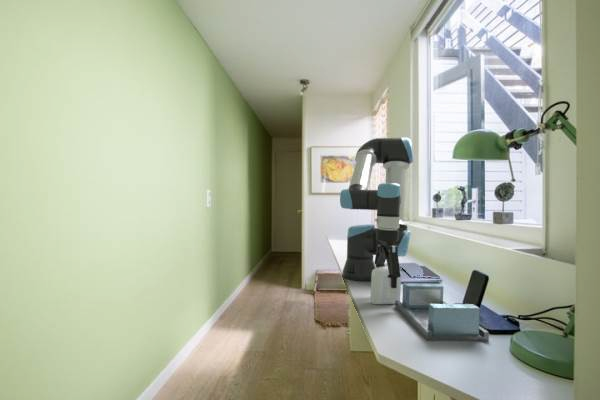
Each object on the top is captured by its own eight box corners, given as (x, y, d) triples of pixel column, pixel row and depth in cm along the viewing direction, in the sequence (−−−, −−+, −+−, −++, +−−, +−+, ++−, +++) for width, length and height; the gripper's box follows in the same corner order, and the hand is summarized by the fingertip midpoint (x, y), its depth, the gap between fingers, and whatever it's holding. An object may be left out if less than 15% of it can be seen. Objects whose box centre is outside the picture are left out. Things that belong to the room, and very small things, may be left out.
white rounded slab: (395, 300, 112) (396, 264, 112) (402, 304, 108) (403, 267, 108) (368, 301, 110) (369, 265, 110) (374, 305, 106) (375, 268, 105)
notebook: (439, 280, 143) (424, 269, 164) (440, 276, 143) (424, 266, 164) (410, 278, 144) (399, 267, 165) (411, 275, 144) (399, 264, 165)
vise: (395, 306, 105) (395, 282, 105) (442, 307, 106) (443, 283, 106) (427, 340, 81) (428, 309, 81) (488, 340, 82) (489, 309, 82)
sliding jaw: (402, 304, 104) (402, 283, 104) (438, 305, 105) (439, 283, 105) (405, 308, 101) (406, 286, 101) (442, 308, 102) (443, 286, 101)
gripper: (367, 225, 121) (365, 281, 121) (388, 232, 96) (386, 303, 96) (386, 225, 121) (385, 281, 121) (413, 233, 96) (410, 303, 96)
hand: (385, 291), depth 109 cm, fingers open, 13 cm apart
